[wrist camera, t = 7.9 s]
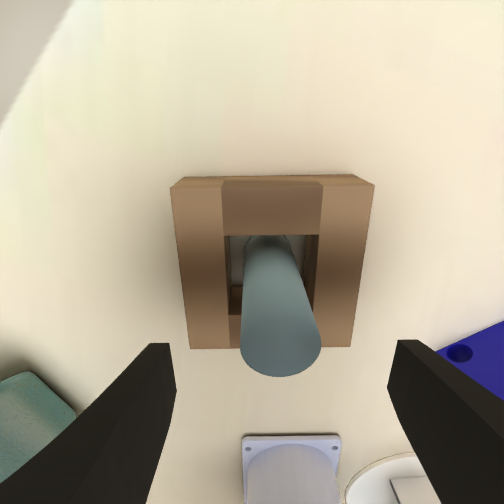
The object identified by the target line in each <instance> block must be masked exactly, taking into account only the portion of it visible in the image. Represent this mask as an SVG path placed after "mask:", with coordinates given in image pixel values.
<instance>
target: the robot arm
mask: <svg viewBox="0 0 504 504" xmlns="http://www.w3.org/2000/svg"><path fill="white" fill-rule="evenodd" d="M387 390H388V392H389V395H390V398H391V401H392V404H393V406H394V409H395V411H396V414H397V417H398V419H399V422H400V424H401V426H402V428H403V430H404V432H405V434H406V436H407V438H408V440H409V442H410V444H411V446H412V448H413V450H414V452H415V454H416V456H417V457H418V459H419V461H420V463H421V465H422V467H423V469H424V471H425V473H426V475H427V477H428V479H429V481H430V483H431V485H432V487H433V489H434V491H435V492H436V494H437V496H438V498H439V500H440V502H441V504H504V401H503V400H502V399H501V398H499V397H498V396H496V395H495V394H493V393H492V392H490V391H489V390H488V389H486V388H485V387H483V386H482V385H481V384H479V383H478V382H476V381H475V380H474V379H472V378H471V377H469V376H468V375H467V374H465V373H464V372H462V371H461V370H460V369H458V368H457V367H456V366H454V365H453V364H451V363H450V362H449V361H447V360H446V359H444V358H443V357H442V356H440V355H439V354H438V353H436V352H435V351H433V350H432V349H431V348H429V347H428V346H426V345H425V344H423V343H422V342H420V341H419V340H398V341H397V346H396V350H395V355H394V359H393V363H392V368H391V372H390V377H389V381H388V385H387ZM176 392H177V389H176V383H175V377H174V370H173V364H172V358H171V351H170V345H169V343H150V344H149V345H148V346H147V347H146V348H145V349H144V350H143V351H142V352H141V353H140V354H139V355H138V356H137V357H136V358H135V359H134V360H133V361H132V362H131V364H130V365H129V366H128V367H127V368H126V369H125V370H124V371H123V372H122V373H121V374H120V375H119V376H118V377H117V378H116V379H115V380H114V381H113V383H112V384H111V385H110V386H109V387H108V388H107V389H106V390H105V391H104V392H103V393H102V394H101V395H100V396H99V397H98V398H97V399H96V400H95V401H94V402H93V403H92V404H91V405H90V406H89V407H88V408H87V409H86V410H84V411H83V412H82V413H81V414H80V415H79V416H78V417H77V418H76V419H75V420H74V421H73V422H72V423H71V424H70V425H69V426H68V427H66V428H65V429H64V430H63V431H62V432H61V433H60V434H59V435H58V436H57V437H55V438H54V439H53V440H52V441H51V442H50V443H49V444H48V445H46V446H45V447H44V448H43V449H42V450H41V451H39V452H38V453H37V454H36V455H35V456H33V457H32V458H31V459H30V460H29V461H27V462H26V463H25V464H24V465H23V466H21V467H20V468H19V469H18V470H17V471H15V472H14V473H13V474H12V475H10V476H9V477H8V478H7V479H5V480H4V481H3V482H1V483H0V504H146V500H147V497H148V494H149V491H150V488H151V484H152V481H153V478H154V475H155V472H156V469H157V465H158V462H159V459H160V456H161V453H162V449H163V446H164V443H165V440H166V436H167V433H168V430H169V426H170V422H171V418H172V413H173V408H174V402H175V397H176ZM341 444H342V442H341V438H340V437H339V436H336V435H325V436H248V437H244V438H243V439H242V461H243V484H244V504H342V503H341V499H340V495H339V490H338V486H337V482H336V475H337V469H338V462H339V456H340V450H341Z"/></svg>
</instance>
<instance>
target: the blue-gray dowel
mask: <svg viewBox="0 0 504 504" xmlns="http://www.w3.org/2000/svg"><path fill="white" fill-rule="evenodd" d="M320 350H321V337H320V334H319V330H318V327H317V324H316V321H315V318H314V315H313V312H312V309H311V306H310V303H309V300H308V297H307V294H306V291H305V288H304V285H303V282H302V279H301V276H300V273H299V270H298V267H297V264H296V261H295V258H294V255H293V252H292V249H291V246H290V243H289V241H288V240H287V239H286V238H285V237H284V236H283V235H254V236H253V237H252V238H251V239H250V240H249V241H248V243H247V244H246V247H245V253H244V273H243V294H242V315H241V335H240V351H241V355H242V357H243V359H244V361H245V362H246V363H247V364H248V365H249V366H250V367H251V368H252V369H253V370H255V371H257V372H259V373H261V374H264V375H267V376H272V377H285V376H291V375H295V374H297V373H300V372H302V371H304V370H305V369H307V368H308V367H310V366H311V365H312V364H313V363H314V361H315V360H316V359H317V357H318V355H319V353H320Z"/></svg>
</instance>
